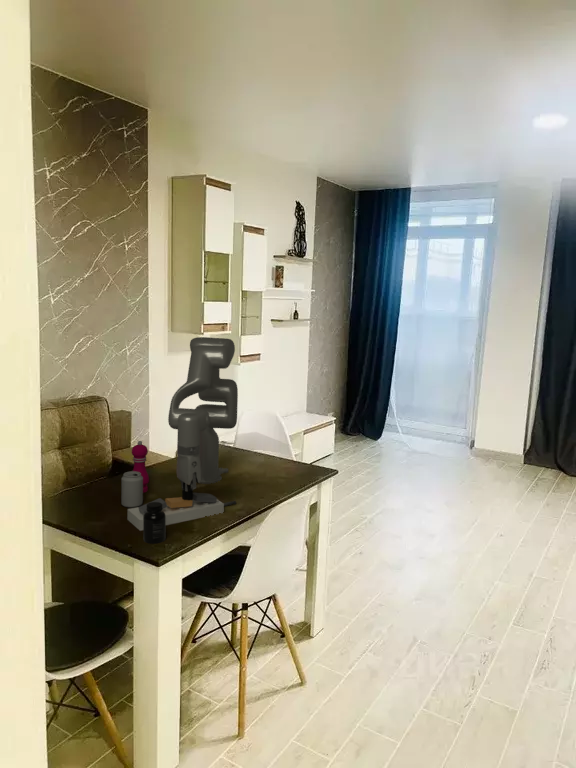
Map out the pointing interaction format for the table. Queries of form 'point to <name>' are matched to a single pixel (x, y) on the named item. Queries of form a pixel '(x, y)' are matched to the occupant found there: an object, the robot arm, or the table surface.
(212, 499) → the block
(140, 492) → the can
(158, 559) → the table surface
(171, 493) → the table surface
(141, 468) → the pepper mill
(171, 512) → the power strip
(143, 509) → the block
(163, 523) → the supplement bottle
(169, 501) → the rocker
